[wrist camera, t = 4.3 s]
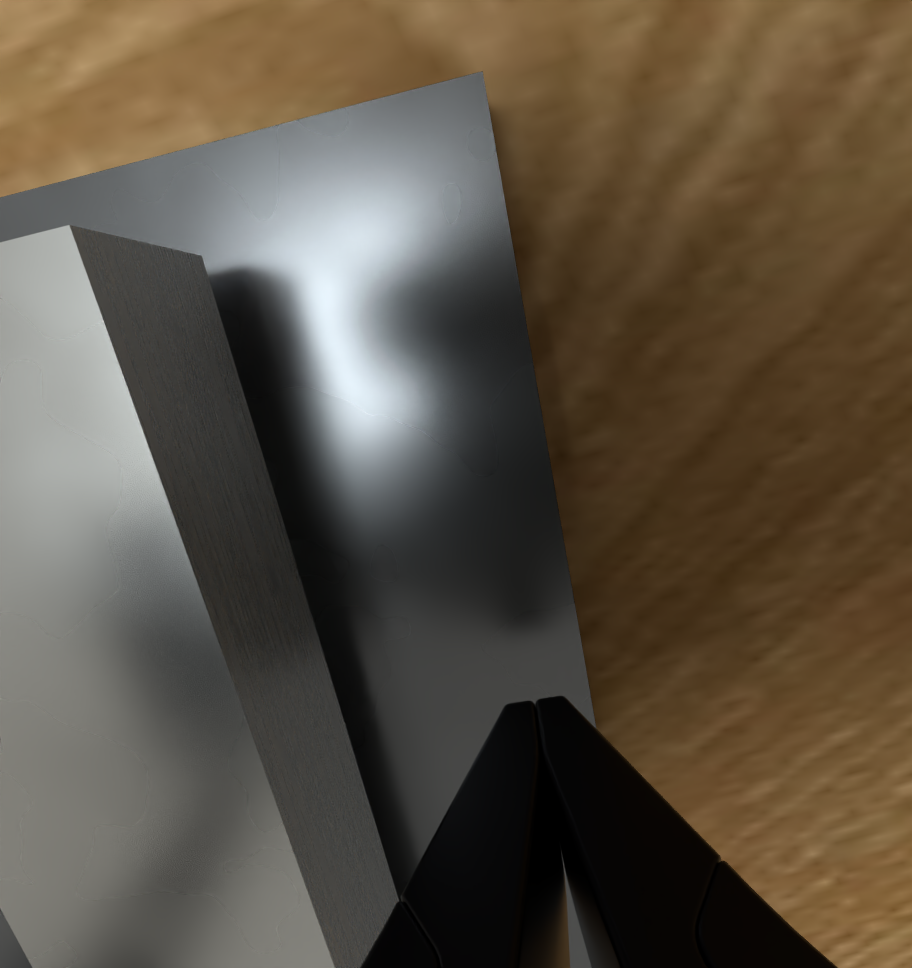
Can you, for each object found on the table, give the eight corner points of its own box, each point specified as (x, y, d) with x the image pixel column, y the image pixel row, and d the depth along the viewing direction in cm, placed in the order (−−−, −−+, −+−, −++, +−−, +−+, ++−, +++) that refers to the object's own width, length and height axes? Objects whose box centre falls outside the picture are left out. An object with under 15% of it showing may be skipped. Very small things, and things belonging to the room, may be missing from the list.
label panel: (660, 1122, 15) (679, 1204, 13) (79, 1168, 16) (42, 1246, 15) (482, 105, 9) (482, 64, 7) (-410, 332, 10) (-546, 334, 9)
